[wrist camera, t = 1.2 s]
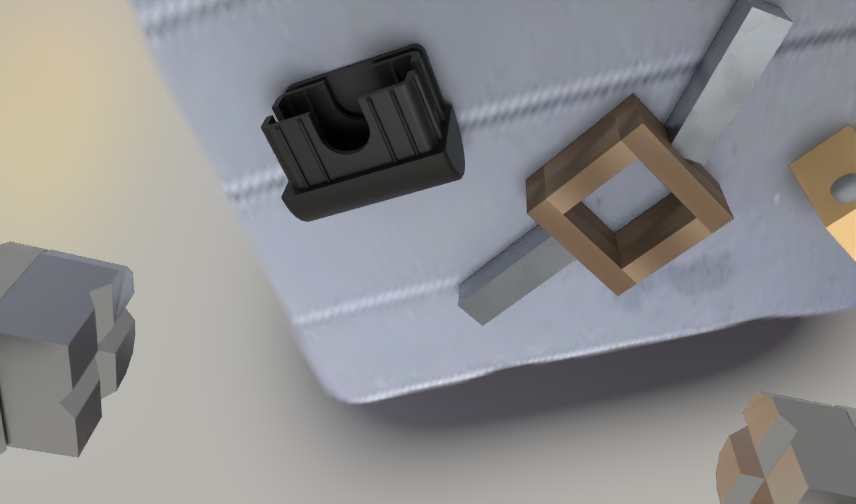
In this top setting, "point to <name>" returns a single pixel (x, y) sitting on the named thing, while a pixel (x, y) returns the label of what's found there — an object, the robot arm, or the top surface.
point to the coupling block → (832, 184)
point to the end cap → (364, 135)
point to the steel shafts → (688, 133)
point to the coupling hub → (647, 234)
